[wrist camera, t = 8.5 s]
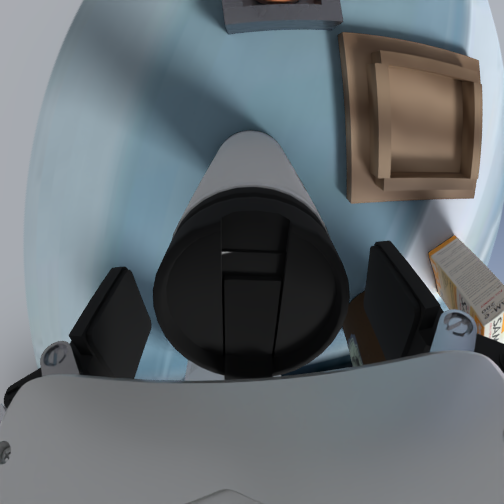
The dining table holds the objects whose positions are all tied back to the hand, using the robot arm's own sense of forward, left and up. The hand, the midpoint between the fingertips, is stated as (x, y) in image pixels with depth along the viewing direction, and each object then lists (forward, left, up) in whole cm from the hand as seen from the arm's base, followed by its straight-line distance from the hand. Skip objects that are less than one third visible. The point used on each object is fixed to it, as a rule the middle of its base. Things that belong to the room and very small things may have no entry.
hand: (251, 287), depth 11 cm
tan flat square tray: (-4, +17, -17) cm, 25 cm away
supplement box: (+14, +24, -18) cm, 33 cm away
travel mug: (-1, 0, -18) cm, 18 cm away
